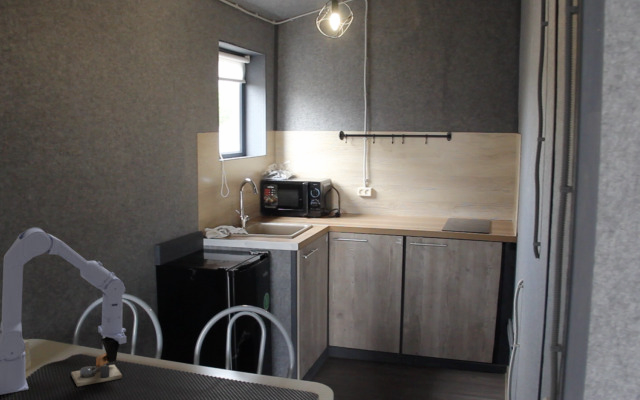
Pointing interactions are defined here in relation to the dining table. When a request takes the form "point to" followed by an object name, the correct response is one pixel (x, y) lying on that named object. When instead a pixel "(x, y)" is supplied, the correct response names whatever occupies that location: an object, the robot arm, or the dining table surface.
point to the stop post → (104, 372)
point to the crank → (91, 370)
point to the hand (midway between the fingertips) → (111, 361)
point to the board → (96, 376)
